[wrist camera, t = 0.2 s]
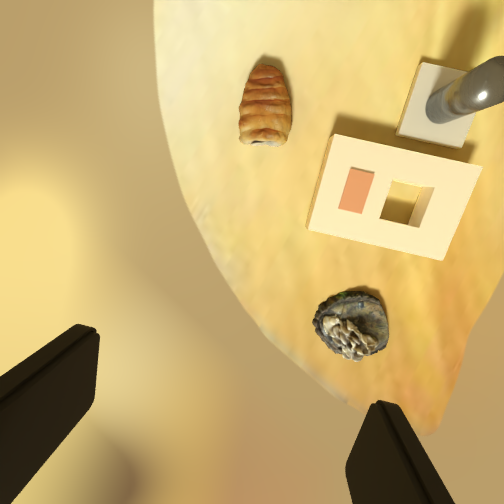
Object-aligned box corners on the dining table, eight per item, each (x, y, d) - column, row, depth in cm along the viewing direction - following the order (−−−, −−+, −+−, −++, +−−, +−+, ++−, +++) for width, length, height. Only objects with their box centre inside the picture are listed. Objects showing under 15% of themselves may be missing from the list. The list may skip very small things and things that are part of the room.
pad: (418, 65, 32) (422, 62, 31) (483, 79, 32) (490, 76, 31) (394, 135, 34) (398, 133, 33) (456, 148, 34) (461, 147, 33)
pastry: (240, 70, 34) (236, 56, 30) (293, 69, 34) (295, 54, 30) (240, 147, 36) (236, 143, 33) (289, 147, 36) (291, 143, 32)
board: (329, 138, 35) (335, 133, 32) (465, 168, 34) (484, 166, 31) (305, 226, 38) (308, 229, 35) (429, 255, 37) (444, 261, 34)
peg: (432, 84, 32) (484, 51, 24) (466, 91, 31) (528, 60, 24) (420, 120, 33) (465, 99, 25) (452, 127, 32) (508, 109, 25)
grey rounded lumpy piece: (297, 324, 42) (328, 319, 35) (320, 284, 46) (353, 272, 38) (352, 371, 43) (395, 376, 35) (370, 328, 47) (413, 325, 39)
